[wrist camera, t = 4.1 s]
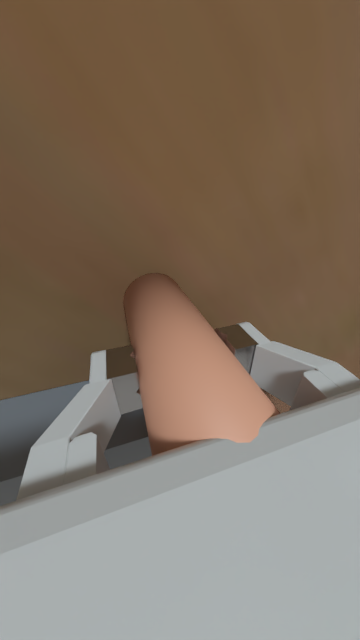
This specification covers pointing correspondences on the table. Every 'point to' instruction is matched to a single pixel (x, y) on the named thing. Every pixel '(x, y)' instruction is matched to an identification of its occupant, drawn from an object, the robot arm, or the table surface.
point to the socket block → (38, 414)
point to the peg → (187, 371)
